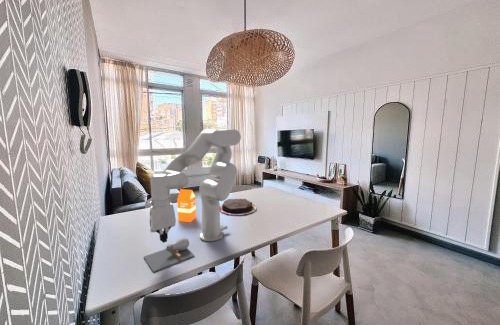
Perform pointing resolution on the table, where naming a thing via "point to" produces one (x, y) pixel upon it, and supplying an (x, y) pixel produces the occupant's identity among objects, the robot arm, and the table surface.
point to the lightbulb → (179, 244)
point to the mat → (166, 259)
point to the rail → (176, 253)
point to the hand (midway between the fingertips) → (163, 241)
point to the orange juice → (186, 205)
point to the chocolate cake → (237, 207)
